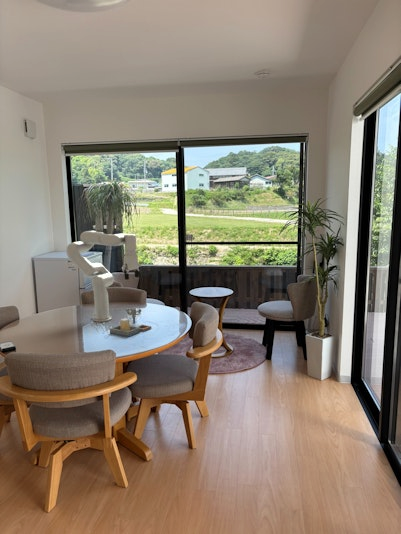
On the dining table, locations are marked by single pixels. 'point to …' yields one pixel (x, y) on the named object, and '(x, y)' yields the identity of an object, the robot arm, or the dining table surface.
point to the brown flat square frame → (144, 327)
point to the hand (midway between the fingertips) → (131, 278)
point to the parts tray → (118, 331)
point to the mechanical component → (133, 313)
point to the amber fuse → (125, 324)
